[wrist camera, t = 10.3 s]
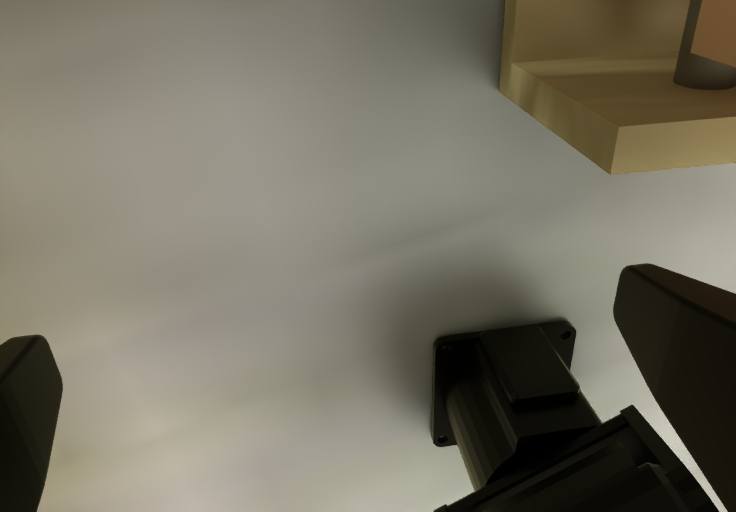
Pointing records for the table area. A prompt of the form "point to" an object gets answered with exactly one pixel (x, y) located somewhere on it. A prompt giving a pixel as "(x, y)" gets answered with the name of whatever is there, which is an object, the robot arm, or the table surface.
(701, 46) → the tan rectangular block
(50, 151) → the table surface
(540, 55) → the shelf frame
